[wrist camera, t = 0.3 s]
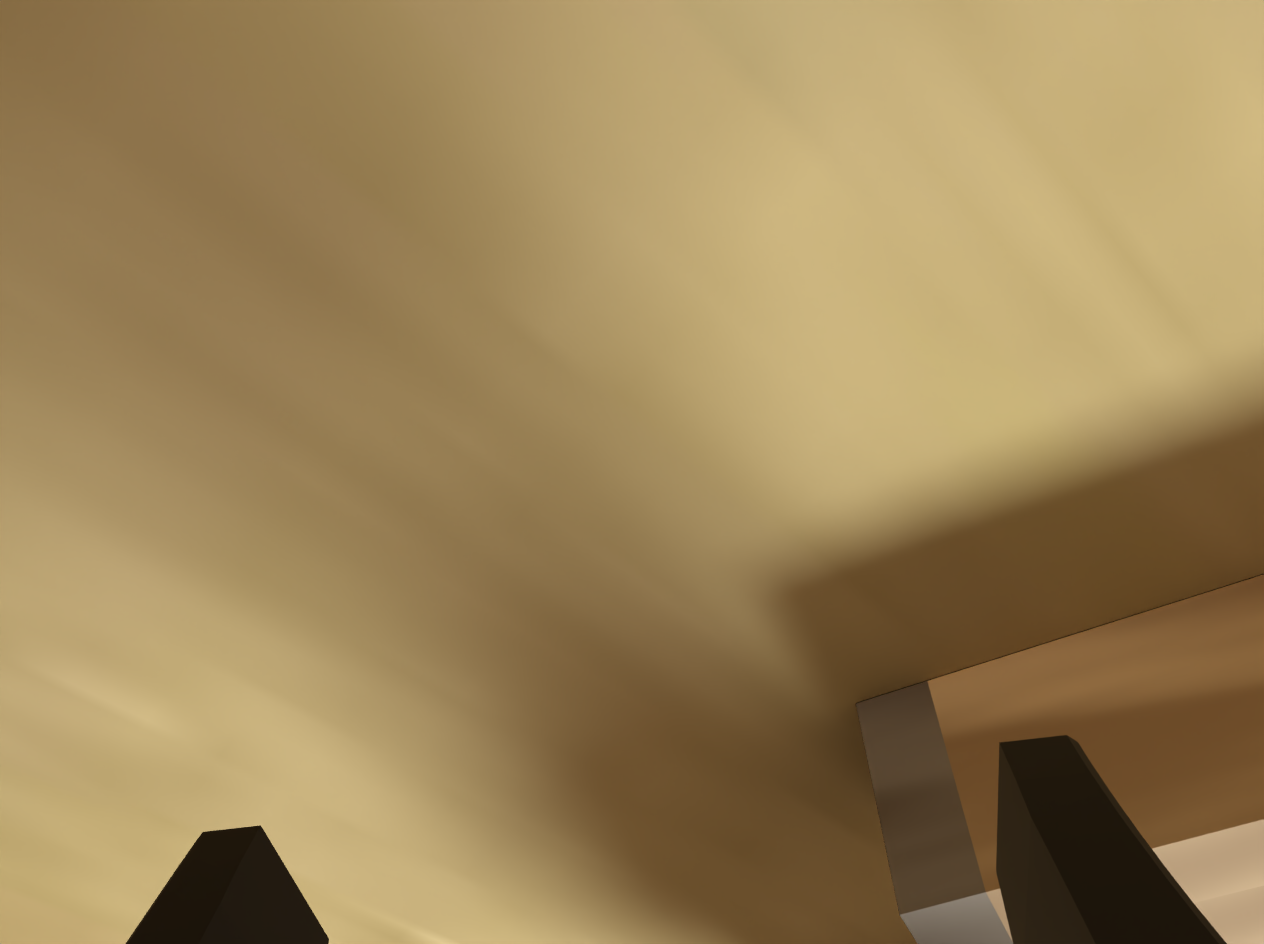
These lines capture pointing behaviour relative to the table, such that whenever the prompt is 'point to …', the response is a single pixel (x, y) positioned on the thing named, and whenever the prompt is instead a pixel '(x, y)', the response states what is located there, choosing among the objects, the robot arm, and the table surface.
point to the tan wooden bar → (1113, 742)
